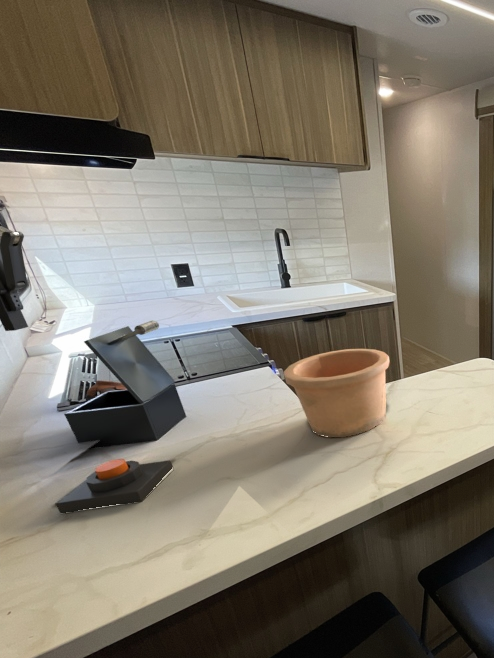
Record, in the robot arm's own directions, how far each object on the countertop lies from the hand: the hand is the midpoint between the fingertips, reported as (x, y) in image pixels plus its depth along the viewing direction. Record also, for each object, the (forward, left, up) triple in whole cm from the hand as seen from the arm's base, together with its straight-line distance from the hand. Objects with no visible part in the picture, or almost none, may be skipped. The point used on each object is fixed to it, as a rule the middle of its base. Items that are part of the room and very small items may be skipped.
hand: (17, 328), depth 74 cm
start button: (+17, -15, -24) cm, 33 cm away
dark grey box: (+5, +11, -28) cm, 30 cm away
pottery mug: (-13, +32, -28) cm, 44 cm away
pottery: (+54, +2, -28) cm, 60 cm away
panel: (+17, -15, -28) cm, 36 cm away
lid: (+9, +11, -12) cm, 18 cm away
